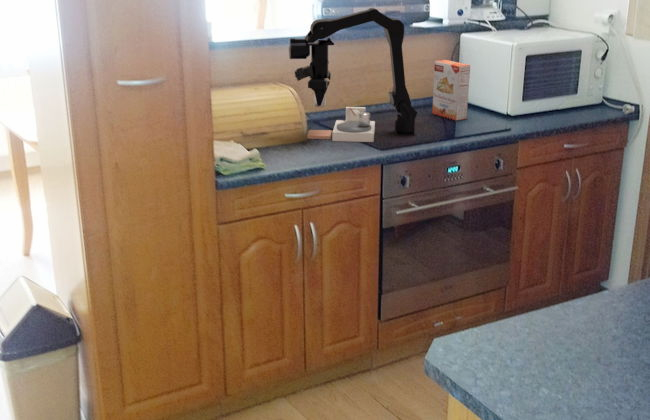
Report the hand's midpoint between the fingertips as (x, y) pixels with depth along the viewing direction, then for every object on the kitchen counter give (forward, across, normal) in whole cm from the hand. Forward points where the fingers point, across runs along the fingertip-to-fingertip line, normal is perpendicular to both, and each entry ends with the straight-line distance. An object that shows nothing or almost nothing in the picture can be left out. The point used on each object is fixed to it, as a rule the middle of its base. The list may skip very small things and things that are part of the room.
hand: (319, 104), depth 255 cm
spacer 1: (0, 0, 0) cm, 0 cm away
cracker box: (+11, -33, +47) cm, 58 cm away
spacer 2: (+7, 0, +15) cm, 17 cm away
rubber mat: (+11, 0, 0) cm, 11 cm away
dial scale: (+11, -2, +12) cm, 16 cm away
